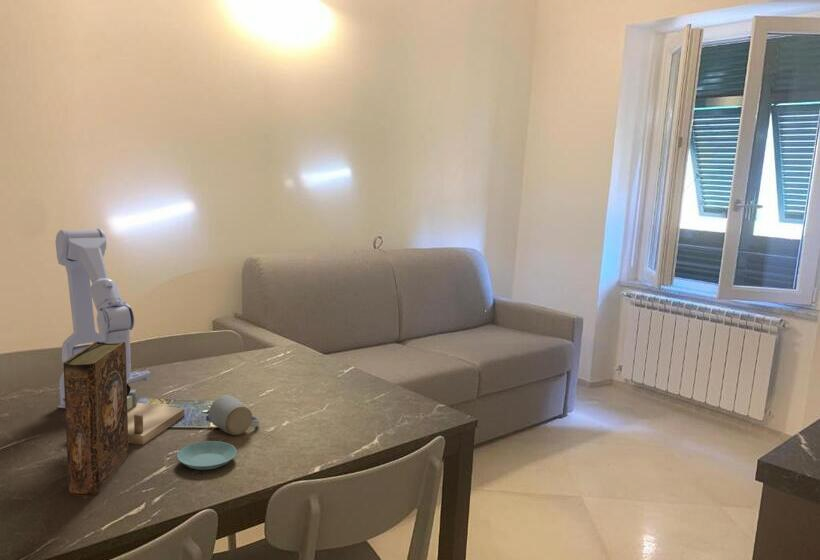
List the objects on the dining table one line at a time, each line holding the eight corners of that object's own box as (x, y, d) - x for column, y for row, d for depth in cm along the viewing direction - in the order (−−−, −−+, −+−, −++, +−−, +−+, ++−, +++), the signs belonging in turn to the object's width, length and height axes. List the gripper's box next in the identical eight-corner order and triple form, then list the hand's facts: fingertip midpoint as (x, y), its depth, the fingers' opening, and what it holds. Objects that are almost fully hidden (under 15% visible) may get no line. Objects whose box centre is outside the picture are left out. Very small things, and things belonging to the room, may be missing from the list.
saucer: (246, 455, 136) (246, 445, 135) (218, 480, 124) (218, 469, 124) (197, 447, 138) (197, 437, 138) (165, 471, 127) (165, 460, 126)
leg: (127, 402, 155) (127, 389, 154) (139, 403, 155) (138, 390, 154) (90, 425, 141) (90, 410, 140) (103, 426, 141) (102, 411, 140)
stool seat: (74, 435, 140) (73, 409, 139) (121, 408, 157) (121, 385, 156) (143, 444, 137) (142, 418, 136) (184, 416, 154) (184, 393, 153)
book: (96, 496, 116) (92, 365, 111) (65, 496, 115) (59, 364, 111) (128, 456, 132) (125, 340, 128) (101, 456, 131) (97, 340, 127)
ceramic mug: (226, 440, 142) (227, 408, 141) (207, 429, 147) (208, 397, 146) (266, 429, 149) (267, 398, 148) (247, 419, 155) (248, 389, 154)
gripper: (88, 369, 134) (90, 429, 136) (155, 357, 144) (157, 414, 146) (77, 361, 139) (79, 419, 141) (143, 350, 149) (144, 405, 151)
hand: (118, 416), depth 144 cm, fingers closed, pressing on leg
